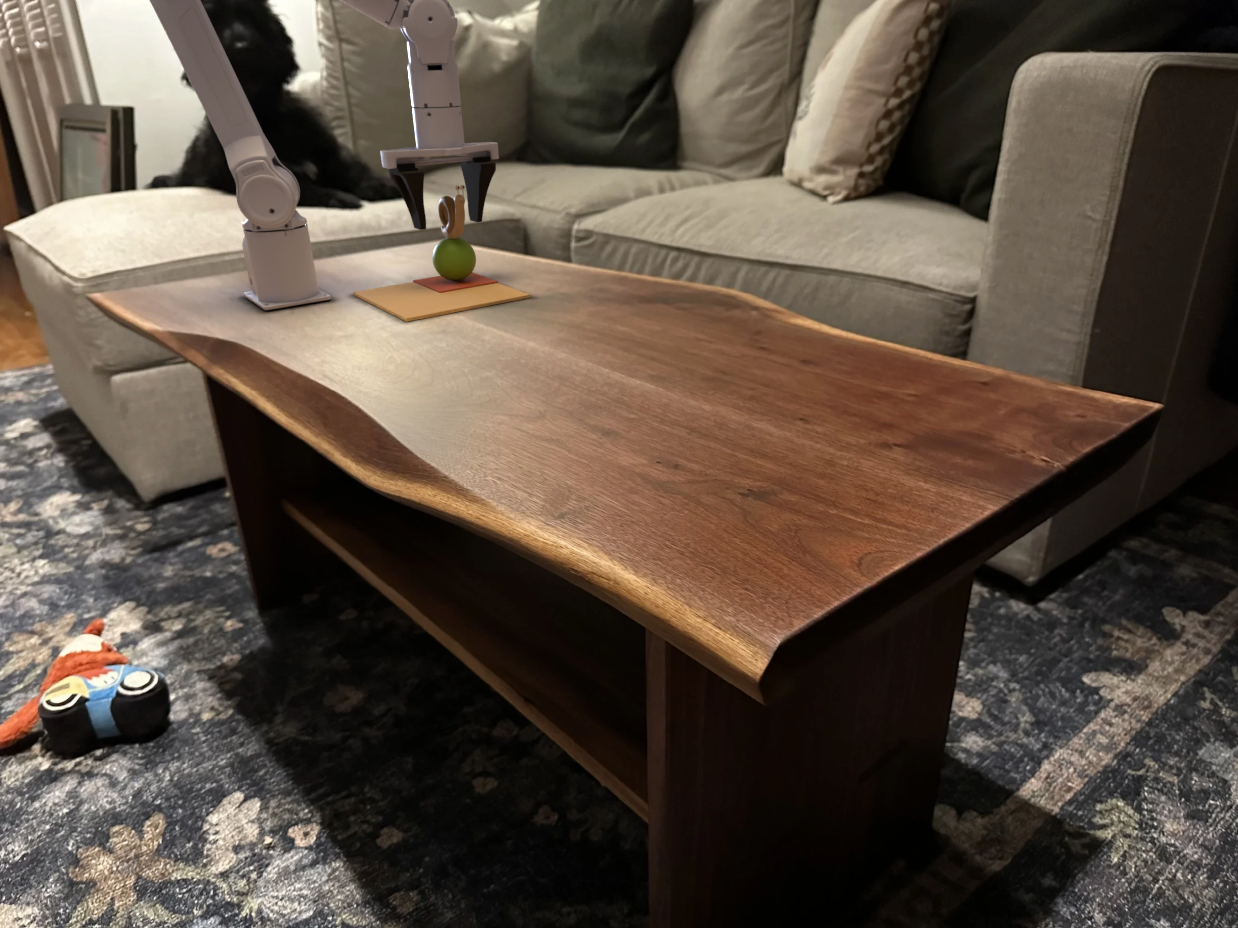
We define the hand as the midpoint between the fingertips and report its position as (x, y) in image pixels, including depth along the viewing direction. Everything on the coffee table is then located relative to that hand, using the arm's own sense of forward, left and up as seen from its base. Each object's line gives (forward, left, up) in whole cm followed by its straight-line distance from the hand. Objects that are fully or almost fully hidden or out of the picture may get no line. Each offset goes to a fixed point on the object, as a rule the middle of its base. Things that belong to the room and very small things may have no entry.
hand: (448, 225), depth 108 cm
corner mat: (+4, -4, -8) cm, 9 cm away
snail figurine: (+1, 0, -7) cm, 7 cm away
